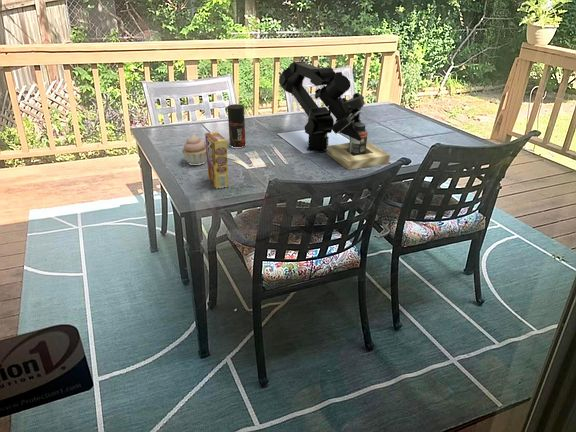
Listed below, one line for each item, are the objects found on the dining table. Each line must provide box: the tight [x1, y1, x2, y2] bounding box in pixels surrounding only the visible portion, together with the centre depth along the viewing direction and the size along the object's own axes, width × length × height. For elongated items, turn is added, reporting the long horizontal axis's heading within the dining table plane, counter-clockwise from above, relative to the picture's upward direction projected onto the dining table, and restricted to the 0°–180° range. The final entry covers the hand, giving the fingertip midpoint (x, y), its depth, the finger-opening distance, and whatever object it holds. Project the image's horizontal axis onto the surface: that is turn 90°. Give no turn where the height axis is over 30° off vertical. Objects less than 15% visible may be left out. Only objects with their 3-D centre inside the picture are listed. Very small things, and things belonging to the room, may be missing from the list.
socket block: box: [326, 140, 390, 171], centre depth 164 cm, size 16×16×3 cm
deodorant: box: [227, 103, 246, 147], centre depth 171 cm, size 6×6×15 cm
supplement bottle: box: [348, 122, 368, 156], centre depth 161 cm, size 6×6×11 cm
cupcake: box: [181, 134, 207, 164], centre depth 158 cm, size 9×9×10 cm
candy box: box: [204, 131, 229, 190], centre depth 142 cm, size 9×4×15 cm, turn 26°
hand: (362, 137), depth 160 cm, fingers closed on supplement bottle, 6 cm apart
